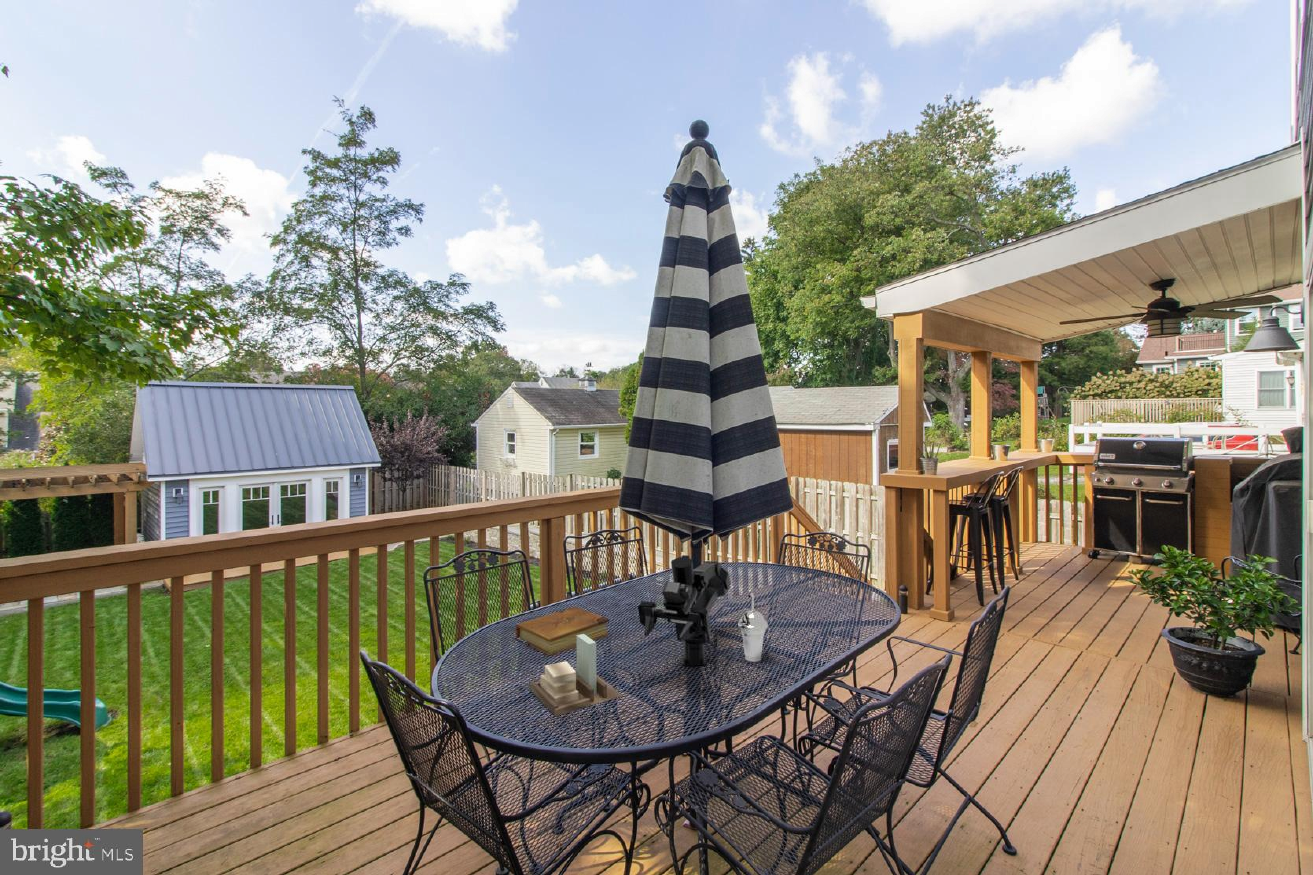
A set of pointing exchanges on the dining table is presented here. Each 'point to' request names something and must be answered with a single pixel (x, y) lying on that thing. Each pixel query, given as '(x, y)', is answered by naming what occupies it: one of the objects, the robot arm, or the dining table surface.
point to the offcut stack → (560, 683)
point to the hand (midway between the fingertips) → (662, 637)
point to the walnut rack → (584, 696)
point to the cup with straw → (752, 632)
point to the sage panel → (587, 660)
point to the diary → (561, 629)
